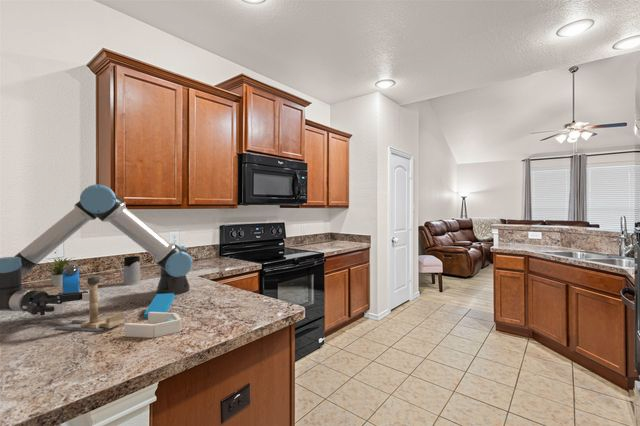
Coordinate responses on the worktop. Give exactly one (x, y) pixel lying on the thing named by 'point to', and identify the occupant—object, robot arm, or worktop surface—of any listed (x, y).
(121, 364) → the worktop surface
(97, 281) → the plunger
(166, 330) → the pocket
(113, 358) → the worktop surface
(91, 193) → the robot arm
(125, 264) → the glass holder
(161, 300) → the blue long block
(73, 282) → the alarm clock
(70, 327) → the track
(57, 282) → the house plant
